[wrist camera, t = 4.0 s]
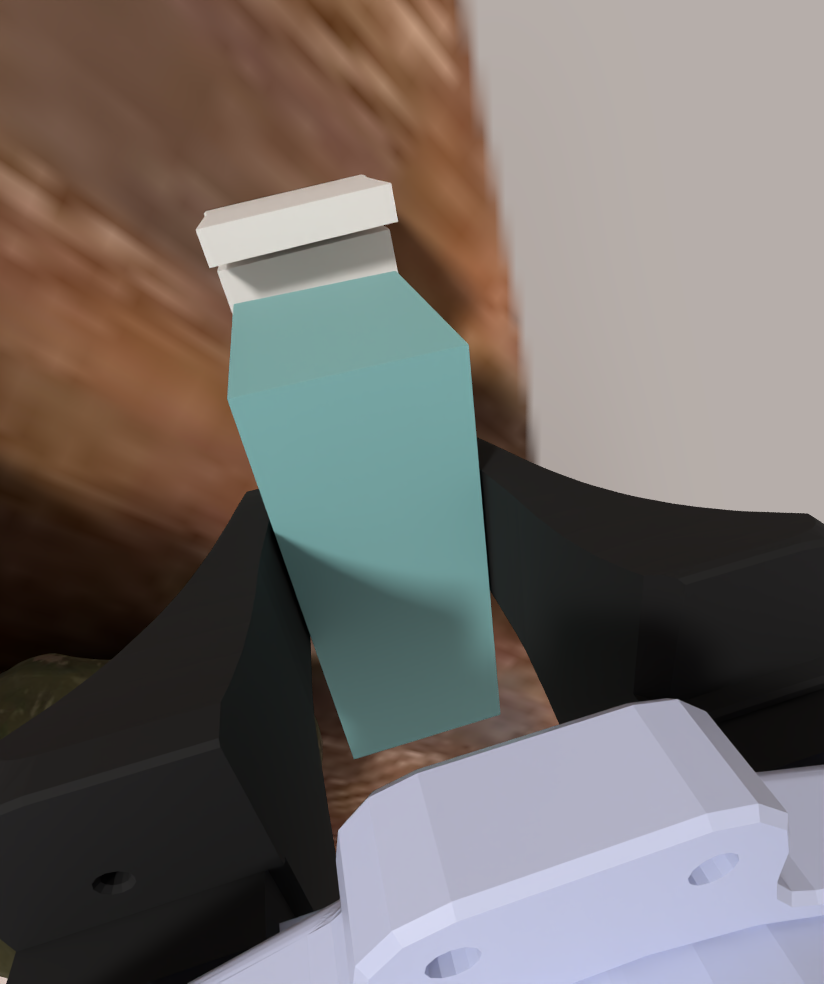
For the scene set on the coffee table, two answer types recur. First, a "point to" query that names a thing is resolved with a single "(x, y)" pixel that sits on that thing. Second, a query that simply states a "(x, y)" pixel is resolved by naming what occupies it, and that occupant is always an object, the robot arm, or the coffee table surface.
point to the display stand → (301, 238)
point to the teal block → (373, 498)
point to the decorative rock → (33, 690)
